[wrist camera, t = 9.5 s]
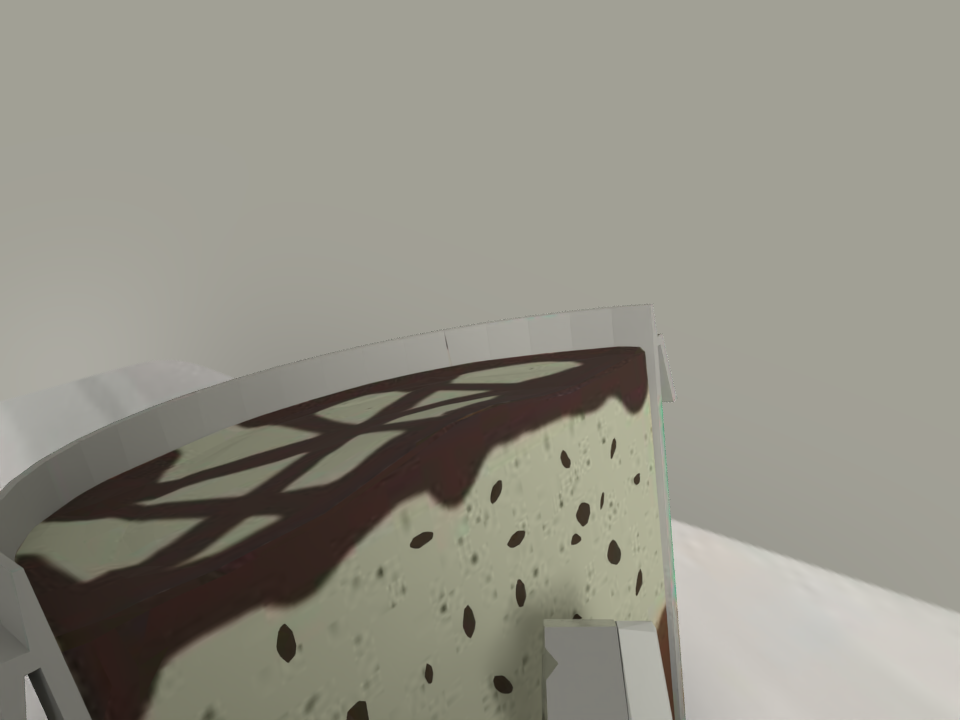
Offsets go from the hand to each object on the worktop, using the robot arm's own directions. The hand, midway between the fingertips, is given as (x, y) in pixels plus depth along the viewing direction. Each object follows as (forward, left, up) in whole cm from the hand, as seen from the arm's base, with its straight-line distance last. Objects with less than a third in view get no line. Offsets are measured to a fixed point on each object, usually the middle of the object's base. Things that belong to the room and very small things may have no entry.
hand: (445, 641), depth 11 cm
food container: (-1, -1, -7) cm, 7 cm away
